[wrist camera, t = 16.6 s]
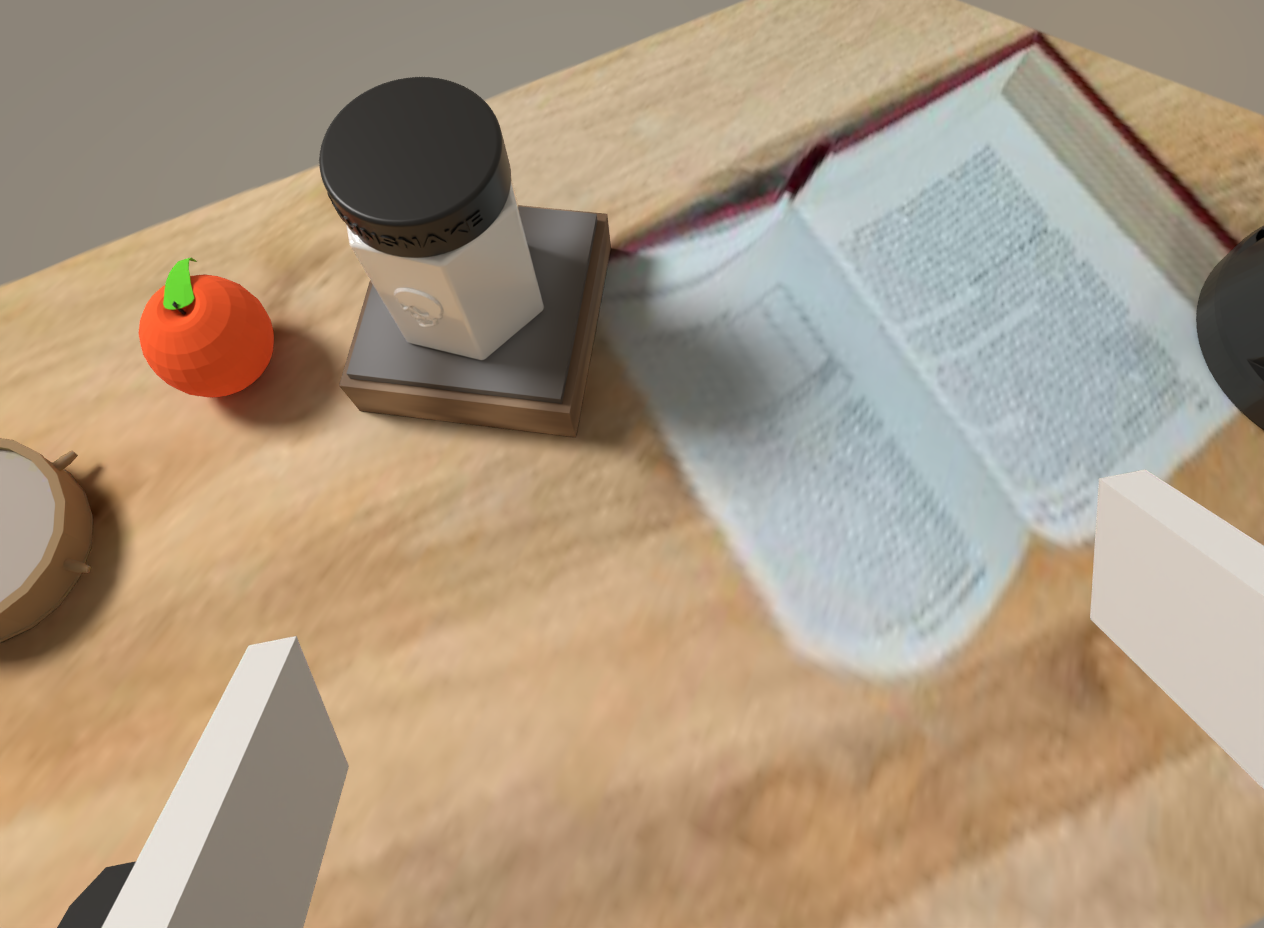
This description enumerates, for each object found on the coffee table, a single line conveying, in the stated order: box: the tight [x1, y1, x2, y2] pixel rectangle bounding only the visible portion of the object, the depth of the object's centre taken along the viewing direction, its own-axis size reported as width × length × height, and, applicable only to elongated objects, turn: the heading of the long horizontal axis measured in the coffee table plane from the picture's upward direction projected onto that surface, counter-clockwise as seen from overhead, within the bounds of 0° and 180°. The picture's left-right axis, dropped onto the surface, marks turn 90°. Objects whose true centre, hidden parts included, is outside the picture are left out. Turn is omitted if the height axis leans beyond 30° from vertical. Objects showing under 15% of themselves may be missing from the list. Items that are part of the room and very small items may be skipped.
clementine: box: [139, 258, 274, 397], centre depth 50 cm, size 8×7×7 cm
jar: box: [319, 77, 544, 360], centre depth 43 cm, size 9×8×12 cm
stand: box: [339, 205, 611, 437], centre depth 51 cm, size 13×13×4 cm
